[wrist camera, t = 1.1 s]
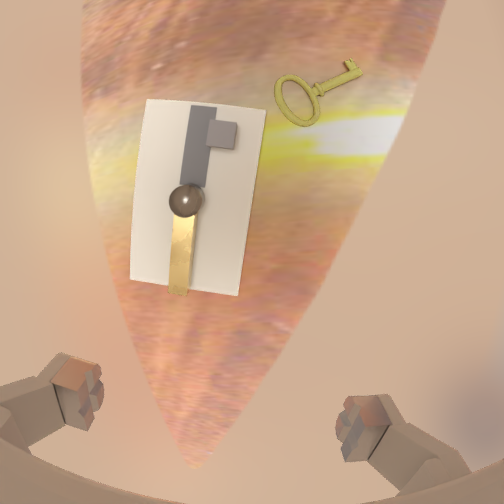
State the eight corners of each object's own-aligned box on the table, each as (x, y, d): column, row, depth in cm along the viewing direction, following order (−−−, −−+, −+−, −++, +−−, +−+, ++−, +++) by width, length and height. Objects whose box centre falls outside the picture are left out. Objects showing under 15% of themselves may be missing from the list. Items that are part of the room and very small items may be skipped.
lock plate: (149, 100, 34) (138, 93, 30) (265, 112, 35) (268, 105, 31) (132, 276, 41) (121, 288, 37) (237, 292, 42) (237, 306, 37)
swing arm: (177, 181, 36) (170, 183, 32) (206, 185, 36) (202, 187, 33) (168, 283, 40) (161, 294, 36) (195, 287, 40) (190, 299, 36)
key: (361, 74, 34) (367, 70, 32) (303, 134, 36) (306, 132, 34) (321, 39, 33) (325, 33, 31) (261, 97, 35) (261, 93, 33)
